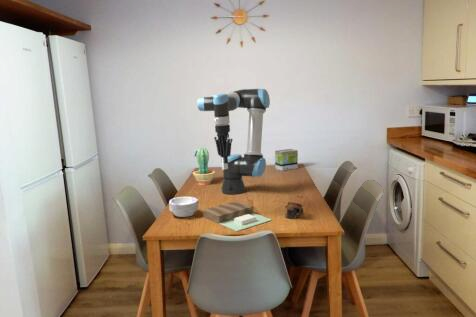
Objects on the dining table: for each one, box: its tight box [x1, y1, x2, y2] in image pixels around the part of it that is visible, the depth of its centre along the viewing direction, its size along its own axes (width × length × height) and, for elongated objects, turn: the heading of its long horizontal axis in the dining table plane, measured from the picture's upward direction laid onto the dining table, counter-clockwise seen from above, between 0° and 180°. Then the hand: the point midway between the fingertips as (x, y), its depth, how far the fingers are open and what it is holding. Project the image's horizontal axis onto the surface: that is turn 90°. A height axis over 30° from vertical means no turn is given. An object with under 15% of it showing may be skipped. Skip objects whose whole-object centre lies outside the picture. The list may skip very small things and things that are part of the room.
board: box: [202, 200, 255, 225], centre depth 205 cm, size 22×14×4 cm, turn 127°
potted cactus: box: [192, 146, 216, 186], centre depth 272 cm, size 15×15×25 cm
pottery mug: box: [284, 201, 304, 220], centre depth 200 cm, size 12×10×8 cm
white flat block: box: [234, 214, 256, 225], centre depth 194 cm, size 9×6×2 cm, turn 127°
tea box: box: [274, 148, 299, 172], centre depth 309 cm, size 15×10×15 cm
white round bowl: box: [168, 196, 199, 218], centre depth 210 cm, size 15×15×8 cm
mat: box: [218, 212, 273, 232], centre depth 195 cm, size 22×14×1 cm, turn 127°
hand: (225, 169), depth 209 cm, fingers closed
